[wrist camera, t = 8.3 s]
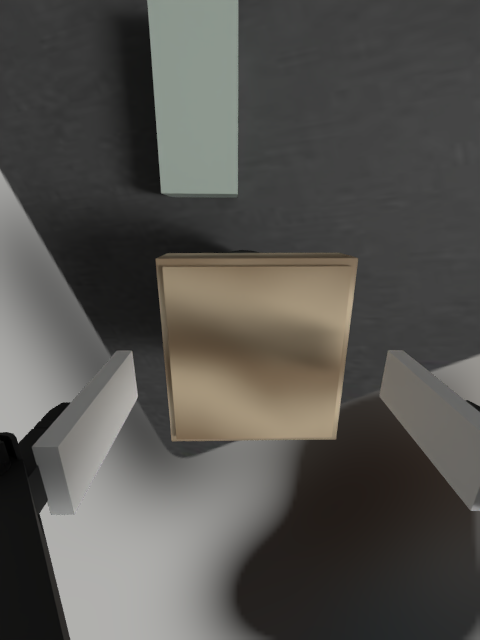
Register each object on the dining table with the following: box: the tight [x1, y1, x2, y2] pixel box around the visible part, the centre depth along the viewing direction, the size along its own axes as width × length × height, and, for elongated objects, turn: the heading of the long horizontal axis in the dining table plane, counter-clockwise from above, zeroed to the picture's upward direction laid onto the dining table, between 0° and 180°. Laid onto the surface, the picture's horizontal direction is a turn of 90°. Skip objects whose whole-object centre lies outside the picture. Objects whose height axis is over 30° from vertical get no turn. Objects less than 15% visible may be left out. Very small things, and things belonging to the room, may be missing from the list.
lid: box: [156, 253, 358, 441], centre depth 19 cm, size 12×11×3 cm
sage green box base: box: [147, 0, 238, 198], centre depth 23 cm, size 12×6×4 cm, turn 0°
